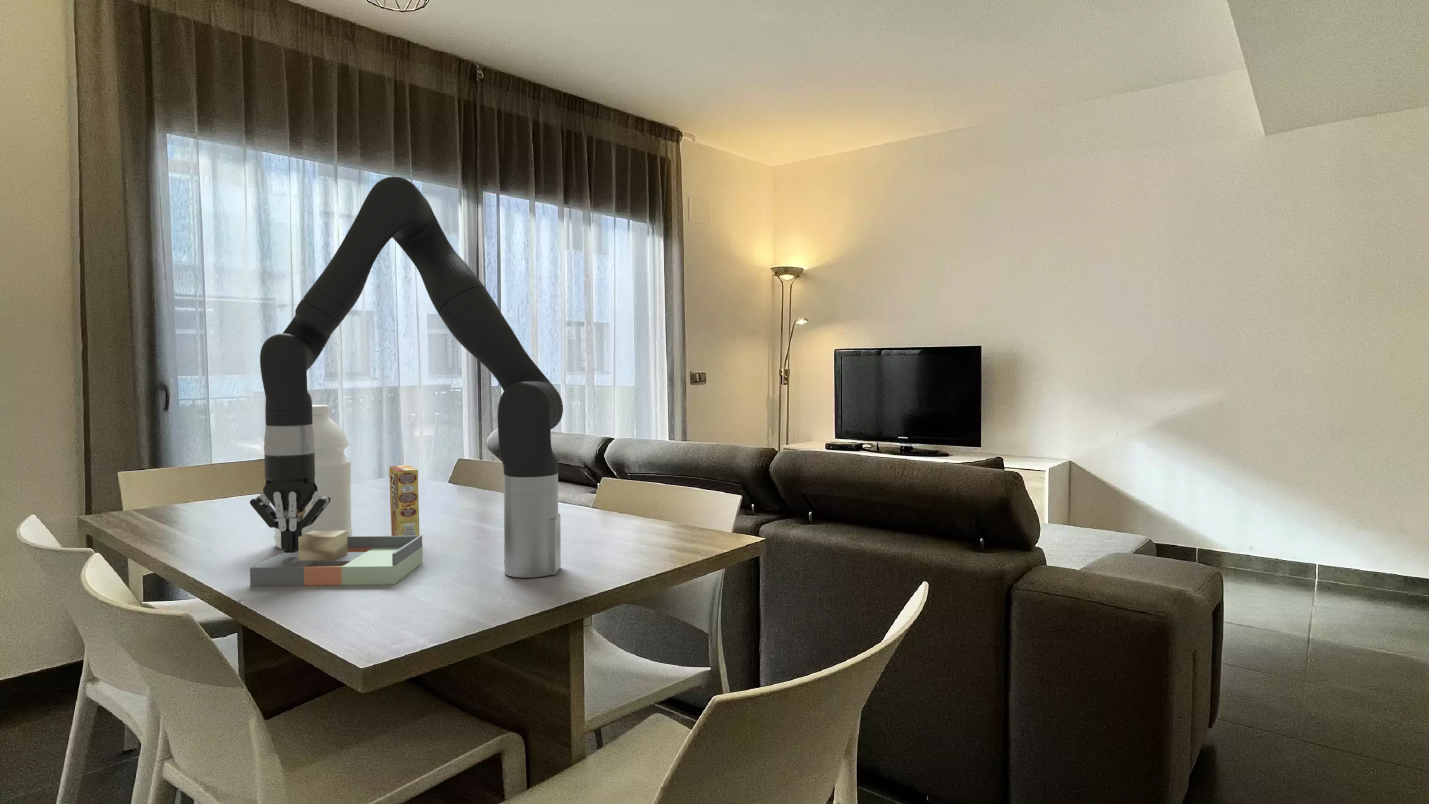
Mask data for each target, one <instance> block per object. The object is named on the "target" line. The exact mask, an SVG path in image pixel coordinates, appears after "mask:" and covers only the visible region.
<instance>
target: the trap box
mask: <svg viewBox="0 0 1429 804" xmlns="http://www.w3.org/2000/svg"><path fill="white" fill-rule="evenodd" d="M347 543H348V553H347V554H345V555H343V556H342V557H340V558H338V559H336V560H304V561H299V550H298V551H297V552H295V553H285V552H284V551H282V552H280V553H279V554H276V555H274V556H272V557H270V558H268V559H266V560H264V561H261V562H259V563H257V564H254V565H253V566H251V567H250V568H249V578H250V580H249V582H250V583H249V585H250V587H269V586H270V587H272V586H273V587H277V586H279V587H281V586H283V587H286V586H289V587H290V586H291V587H292V586H296V587H297V586H360V585H361V586H363V585H364V586H365V585H367V586H368V585H369V586H373V585H377V586H378V585H382V586H383V585H396V584H398V583H399V582H400V581H401V580H402V579H404V578H405V577H407V575H409V574H410V573H411V572H412V571H414V570H415V569H417V568H418V567H419V566H420V565H421V564H423V535H420V536H391V535H352V536H347Z"/></svg>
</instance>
